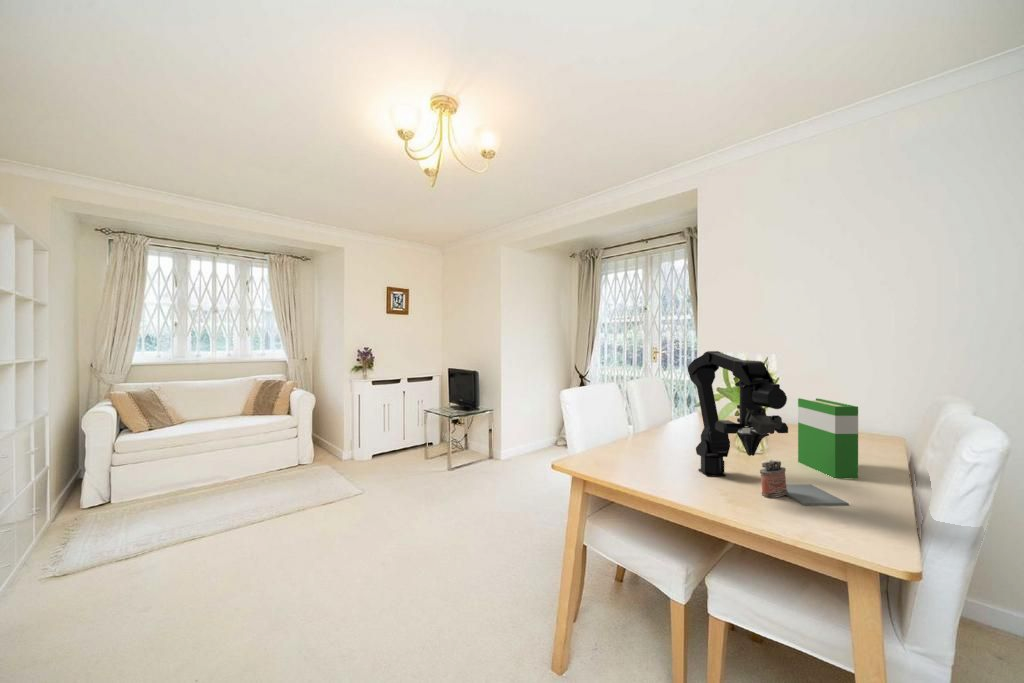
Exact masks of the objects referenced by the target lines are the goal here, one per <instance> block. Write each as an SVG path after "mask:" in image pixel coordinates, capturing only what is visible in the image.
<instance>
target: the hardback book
mask: <svg viewBox="0 0 1024 683" xmlns="http://www.w3.org/2000/svg"><path fill="white" fill-rule="evenodd" d="M797 419H798V420H797V447H798V448H797V462H798V463H800V464H802V465H804V466H806V467H808V466H809V467H808V468H810V467H811V469H813V470H814V471H817V470H818V471H817V472H819V471H820V473H821V472H822V473H821V474H823V473H824V474H823V475H826V474H827V475H826V476H828V475H829V476H828V477H830V476H831V478H832V477H833V479H834V478H858V479H859V406H856V405H852V404H847V403H841V402H837V401H833V400H827V399H823V398H818V397H817V398H815V400H809V399H805V398H801V397H799V398H797Z"/></svg>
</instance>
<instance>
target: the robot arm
mask: <svg viewBox="0 0 1024 683" xmlns="http://www.w3.org/2000/svg"><path fill="white" fill-rule="evenodd" d="M765 365H766V364H765V363H764V362H763V361H761V360H752V359H751V360H749V359H742V358H741V359H740V358H738V357H734V356H732V355H729V354H726V353H723V352H721V351H718V350H708V351H705V352H704V353H703V354H702V355H700V356H699V357H697V358H695V359H693V360H692V361H691V362H690V364H689V365H688V366H687V372H688V374H689V378H690V381H691V382H692V383H693V384H694V385H695V386H696V389H697V394H698V395H697V397H698V400H699V401H698V402H699V408H700V412H701V416H702V417H701V418H702V422H703V429H702V432H701V434H700V442H699V443H698V444H697V445H696V446H695V452H696V455H697V456H700V468H698V471H699V472H701V473H702V474H703V475H705V476H707V477H726V476H727V474H725V460H724V458H727V457H728V455H729V452H730V449H731V441H730V437H729V435H730V434H734V435H735V434H736V435H737V437H738V438H739V440H740V441H741V444H742V446H743V447H744V450H745V452H746V454H747V455H748V456H749V457H751V456H752V457H754V456H755V455H756V452H757V450H758V447H759V446H760V443H761V441H762V439H764V438H766V437H769V436H770V435H773V434H775V432H776V433H777V434H789V426H788V424H786V422H783V418H782V417H781V415H767V412H766V408H769V409H774V410H780V409H782V408H784V407H785V406H786V404H787V401H788V396H787V395H786V392H785V391H784V390H783V389H781V388H780V387H781V386H780V384H779V383H775V382H774V378H773V377H772V376H771V374H770V373H769V372H770V371H769V370H768V368H767V367H766V366H765ZM720 368H722V369H724V370H727V371H729V372H731V373H732V375H733V377H735V378H736V379H738V381H737V382H736V383H735V384H734V386H735V387H739V404H737V405H736V408H737V410H738V409H739V418H737V419H736V422H737V423H736V422H734V421H731V420H729V419H728V420H727V419H726V420H725V419H724V420H721V419H720V420H719V415H718V410H717V404H716V399H715V394H714V388H713V383H714V381H715V378H716V372H717V371H718V370H720ZM765 407H766V408H765Z"/></svg>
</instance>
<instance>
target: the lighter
mask: <svg viewBox="0 0 1024 683" xmlns="http://www.w3.org/2000/svg"><path fill="white" fill-rule="evenodd" d="M761 467H762V468H761V469H759V474H760V480H761V491H762V492H761V496H762V497H763V496H764V498H766V497H767V499H768V498H769V499H772V498H777V497H782V496H783V497H784V496H787V495H786V494H788V492H787V489H786V484H787V480H786V479H787V478H786V472H787V471H786V470H787V469H786V467H784V466H782V461H781V460H777V459H776V460H773V459H770V460H769V461H764V462H762V463H761Z"/></svg>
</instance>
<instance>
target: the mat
mask: <svg viewBox="0 0 1024 683" xmlns="http://www.w3.org/2000/svg"><path fill="white" fill-rule="evenodd" d="M786 489H787V492H788V494H786V495H785V496H786V497H788V498H790V499H792V500H794V501H795V502H797V503H799V504H801V505H802V506H849V505H850V504H849V502H847V501H845V500H843V499H841V498H839V497H837V496H835V495H833V494H832V493H829V492H827V491H825V490H823V489H821V488H818V487H817V486H815V485H812V484H810V483H809V484H806V483H804V484H803V483H798V484H793V483H792V484H787V483H786Z"/></svg>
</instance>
